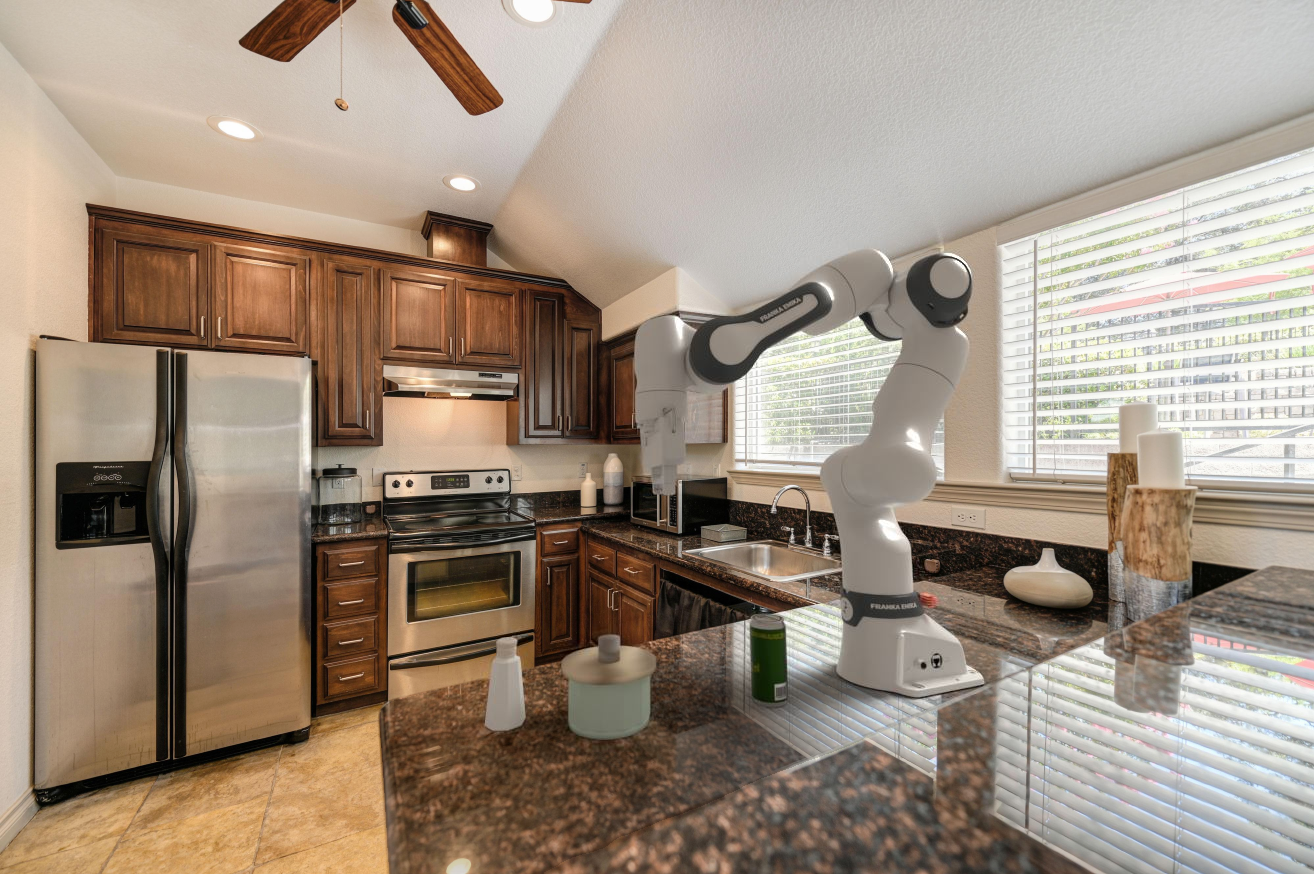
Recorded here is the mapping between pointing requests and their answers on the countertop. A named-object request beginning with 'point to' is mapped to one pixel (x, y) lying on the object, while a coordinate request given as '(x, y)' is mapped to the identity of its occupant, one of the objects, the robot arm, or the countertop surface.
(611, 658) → the lid
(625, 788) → the countertop surface
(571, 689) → the pale green pot
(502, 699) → the pepper shaker
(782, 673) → the beer can
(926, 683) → the robot arm
